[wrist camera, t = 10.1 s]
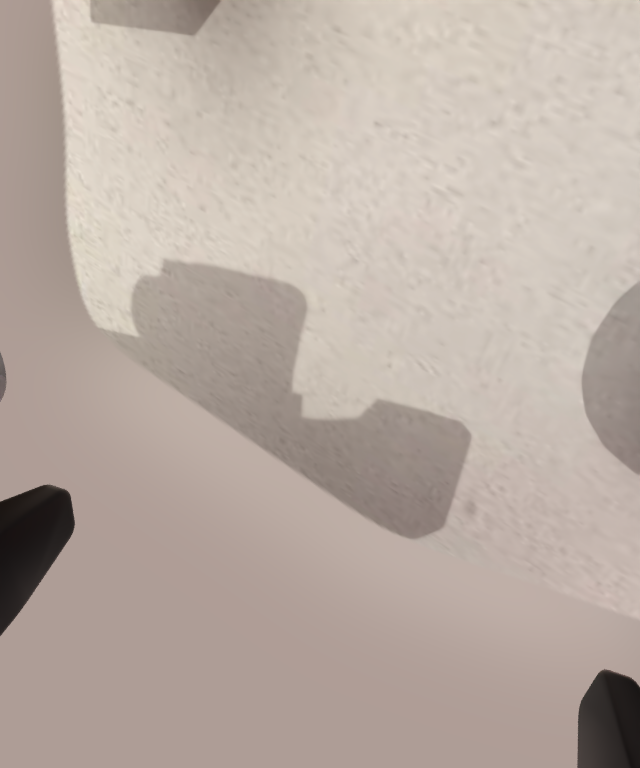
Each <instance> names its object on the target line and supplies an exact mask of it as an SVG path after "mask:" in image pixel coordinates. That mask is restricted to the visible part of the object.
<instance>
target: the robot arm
mask: <svg viewBox="0 0 640 768" xmlns="http://www.w3.org/2000/svg"><path fill="white" fill-rule="evenodd" d="M74 525H75V521H74V515H73V508H72V502H71V496H70V494H69V492H68V491H67V490H65V489H62V488H59V487H56V486H53V485H43V486H40V487H37V488H35V489H32V490H29V491H27V492H24V493H22V494H19V495H17V496H14V497H11V498H9V499H6V500H3V501H1V502H0V636H1V635H2V633H3V632H4V631H5V630H6V628H7V627H8V626H9V625H10V624H11V622H12V621H13V620H14V618H15V617H16V616H17V615H18V613H19V612H20V611H21V609H22V608H23V606H24V605H25V604H26V602H27V601H28V599H29V598H30V597H31V595H32V594H33V592H34V591H35V589H36V588H37V586H38V585H39V583H40V582H41V580H42V579H43V577H44V576H45V574H46V573H47V571H48V570H49V568H50V567H51V565H52V564H53V562H54V561H55V560H56V558H57V557H58V555H59V553H60V552H61V551H62V549H63V547H64V546H65V545H66V543H67V542H68V540H69V539H70V537H71V535H72V533H73V530H74ZM577 767H578V768H640V687H639V685H638V684H637V683H636V682H635V681H634V680H633V679H632V678H630V677H628V676H625V675H622V674H619V673H616V672H613V671H610V670H605V669H604V670H602V671H600V672H599V673H598V675H597V676H596V678H595V680H594V681H593V683H592V684H591V686H590V687H589V689H588V691H587V692H586V694H585V695H584V697H583V699H582V701H581V704H580V708H579V715H578V766H577Z"/></svg>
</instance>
